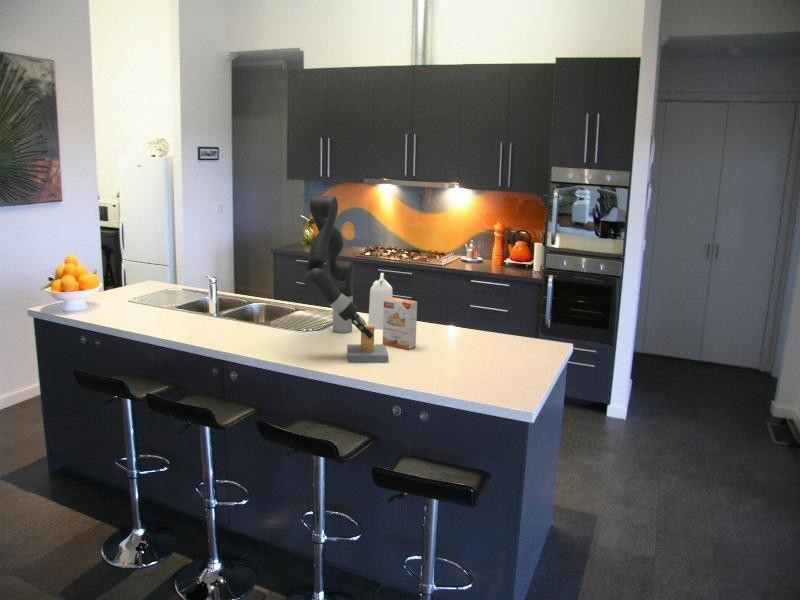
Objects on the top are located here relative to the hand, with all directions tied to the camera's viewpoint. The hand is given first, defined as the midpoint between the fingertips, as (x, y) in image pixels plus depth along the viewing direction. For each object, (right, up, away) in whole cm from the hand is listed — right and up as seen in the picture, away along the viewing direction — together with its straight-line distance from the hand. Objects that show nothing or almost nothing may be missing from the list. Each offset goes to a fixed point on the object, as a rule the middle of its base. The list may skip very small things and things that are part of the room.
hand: (370, 334), depth 276 cm
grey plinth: (-2, -9, +2) cm, 10 cm away
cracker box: (+11, -6, +19) cm, 23 cm away
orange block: (-2, -6, +1) cm, 7 cm away
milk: (+2, +1, +53) cm, 53 cm away
